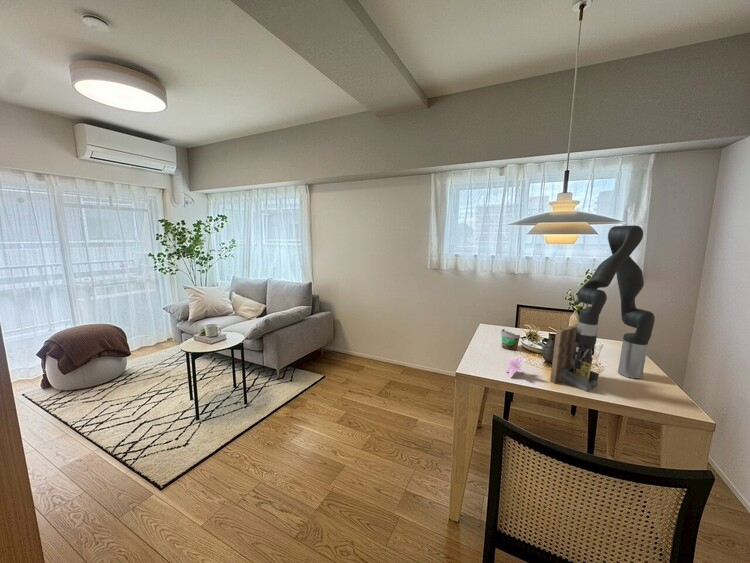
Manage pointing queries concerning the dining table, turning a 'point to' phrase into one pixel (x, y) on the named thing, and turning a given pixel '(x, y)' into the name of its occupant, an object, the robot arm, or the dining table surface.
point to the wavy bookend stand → (569, 361)
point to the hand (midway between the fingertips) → (582, 366)
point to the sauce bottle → (585, 364)
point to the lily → (514, 365)
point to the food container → (509, 340)
